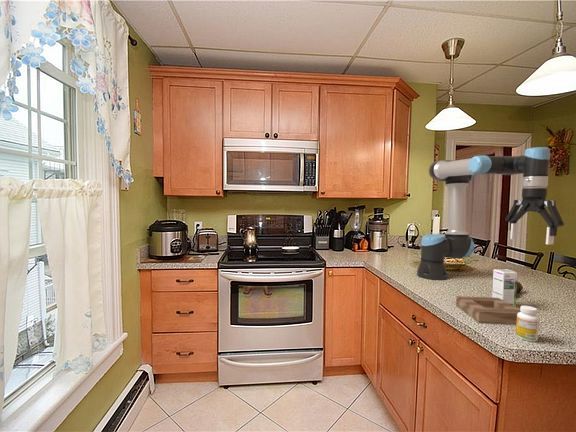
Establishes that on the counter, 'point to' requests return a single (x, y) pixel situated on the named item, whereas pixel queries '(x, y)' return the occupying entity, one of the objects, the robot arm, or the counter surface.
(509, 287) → the syrup box
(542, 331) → the counter surface
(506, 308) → the socket block
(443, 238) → the robot arm
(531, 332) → the supplement bottle
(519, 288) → the bolt
